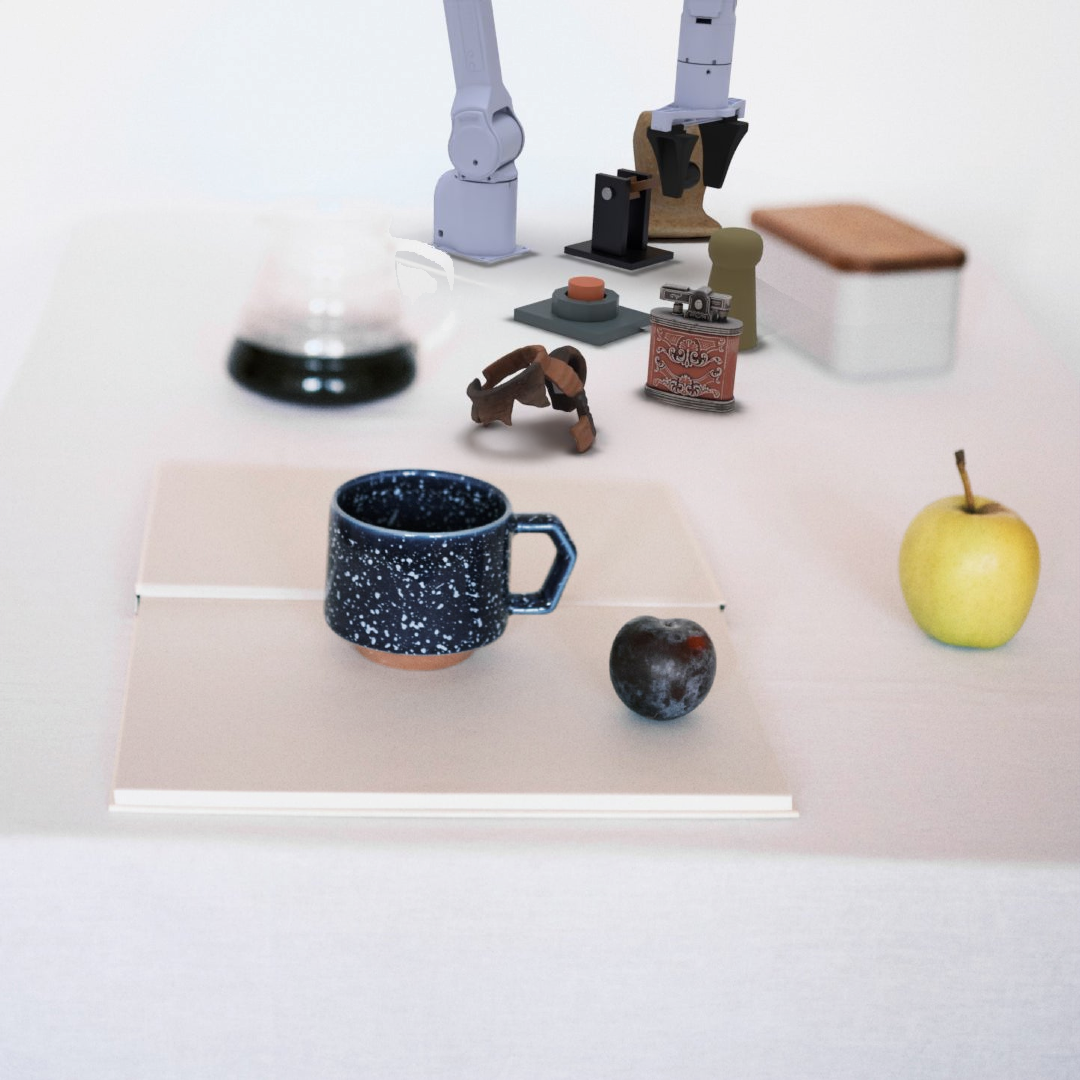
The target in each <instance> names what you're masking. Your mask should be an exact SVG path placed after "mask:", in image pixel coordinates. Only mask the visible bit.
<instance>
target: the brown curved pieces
mask: <svg viewBox="0 0 1080 1080" xmlns="http://www.w3.org/2000/svg"><path fill="white" fill-rule="evenodd" d="M586 361H587V360H586V359H585V357H584V355H583V354H582V352H581V351H580V350H579V349H578V348H576V347H574V346H572V345H569V344H567V345H562V346H560V347H556V348H554V349H553V350H551V352H549V353H548V351H547V349H546V347H545V346H544V345H542V344H530V345H525V346H523V347H519V348H516V349H514V350H513V351H510V352H509V353H507V354H505V355H503V356H501V357H500V358H499V359H496V360H494V361H493V362H491V363H490V364H489V365H488V366H486V367H485V368H484V369H482V370H481V373H482V376H483V377H484V379H485V382H484V383H483V384H482V382H481V380H480V378H479V377H475V378H474V379H473V380H472V381H471V382H470V383H469V384H468V386H467V388H466V392H465V393H466V396H467V397H468V398H469V399H470V401H471V402H472V404H471V410H470V417H471V418H470V419H471V421H472V422H475V424H483V425H485V426H488V425H489V424H490V423H491V422H495V421H500V422H502V423H503V424H504V425H507V426H510V427H512V426H513V423H512V414H513V410H514V404H515V400H516V401H517V402H519V403H520V404H522V405H523V406H528V407H529V406H531V407H535V408H538V409H545V408H549V407H550V406H551V407H552V409H553V410H555V411H562V412H563V413H572V412H573V411H575V410H576V414H577V419H578V420H577V422H576V423H574V425H573V427H571V428H570V434H571V435H572V437H573V438H574V439H575V445H576V448H577V452H579V453H583V452H584V451H586V450H587V449H588V448H589V447H590V446H591V445H592V444H593V442H594V440H595V438H596V437H597V429H596V427H595V423H594V418H593V414H592V413H591V410H590V406H589V405H588V404H589V403H588V402H589V400H588V397H587V395H586V390H585V387H586V383H587V377H588V366H587V362H586ZM521 370H522V371H521ZM519 371H520V373H518V372H519ZM516 373H518V374H516ZM514 374H516V375H515V376H514V377H512V378H510V379H509V380H507V381H505V382H503V383H502V381H503V380H504V379H506V378H507V377H511V376H512V375H514ZM500 383H501V384H500ZM498 384H499V385H498ZM547 393H548V396H547ZM549 398H550V400H549Z"/></svg>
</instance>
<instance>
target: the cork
mask: <svg viewBox="0 0 1080 1080" xmlns="http://www.w3.org/2000/svg"><path fill="white" fill-rule="evenodd" d="M707 245H708V246H707V252H708V253H707V254H708V257H709V259H710V261H711V263H712V265H711V270H710V273H709V277H708V282H707V286H708V287H710V288H711V289H712V290H713V292H714V293H718V294H724V295H729V296H731V297H732V298H731V307H730V309H729V313H728V315H727V317H730V318H734V319H738V320H740V321H742V322H743V328H742V333H741V334H740V336H739V345H738V352H745V351H746V352H747V351H749V350H753V349H755V348H756V347H757V346H758V345H757V344H758V333H757V332H758V331H757V285H756V284H757V281H756V280H757V279H756V278H757V277H756V276H757V275H756V272H757V271H756V267H757V265H758V264H759V263H760V262H761V260H762V257H763V253H764V240H763V238H762V236H761V235H760V233H758V232H757V231H755V230H753V229H749V228H745V227H740V226H739V227H738V226H729V227H722V228H721V229H719V230H717V231H715V232H714V233H713V234H712V236H710V238H709V241H708V244H707ZM716 310H717V315H718V309H716Z"/></svg>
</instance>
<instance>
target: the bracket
mask: <svg viewBox="0 0 1080 1080" xmlns="http://www.w3.org/2000/svg"><path fill="white" fill-rule="evenodd" d="M594 174H595V176H594V191H593V207H592V209H593V211H592V212H593V213H592V224H591V225H592V227H591V239H588V240H584V241H581V242H576V243H572V244H569V245H566V246H564V247H563V253H564V254H567V255H570V256H573V257H577V258H582V259H585V260H589V261H593V262H596V263H601V264H605V265H608V266H612V267H615V268H620V269H624V270H627V271H631V272H632V271H636V270H638V269H639V270H640V269H642V268H646V267H649V266H653V265H657V264H660V263H663V262H666V261H670V260H673V259H674V257H675V252H674V251H670V250H667V249H662V248H659V247H656V246H651V245H648V241H649V240H648V239H649V238H648V229H649V216H650V202H651V189H652V188H650V189H645V190H641V191H639V193H640V197H639V198H635V199H630V186H631V179H627V178H629V177H633V176H636V178H637V182H639V181H644V180H648V179H652V176H653V175H652V174H647V173H643V172H638V171H635V170H633V169H629V168H617V170H616V175H613V174H609V173H605V172H598V173H594Z"/></svg>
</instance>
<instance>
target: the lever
mask: <svg viewBox="0 0 1080 1080" xmlns="http://www.w3.org/2000/svg"><path fill="white" fill-rule="evenodd" d="M627 179H631V186H630V199H635V198H639V197H640V193H639V191H641V190H645V189H650V188H654V187H658V186H661V181H660V177H656V178H652V179H648V180H644V181H639V182H637V178H636V176H633V177H629V178H627ZM699 180H700V169H699V167H698V166H697V165H696V164H695V163H694V162H692V161H689V164H688V169H687V175H686V181H685V187H684V190H690V189H692V188H694V187H695V186H696V185H697V184H698V182H699Z"/></svg>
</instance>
